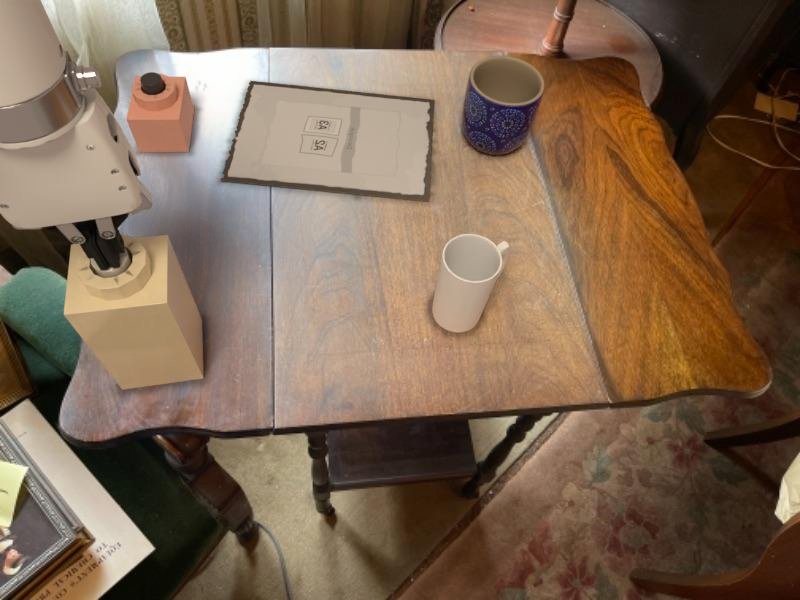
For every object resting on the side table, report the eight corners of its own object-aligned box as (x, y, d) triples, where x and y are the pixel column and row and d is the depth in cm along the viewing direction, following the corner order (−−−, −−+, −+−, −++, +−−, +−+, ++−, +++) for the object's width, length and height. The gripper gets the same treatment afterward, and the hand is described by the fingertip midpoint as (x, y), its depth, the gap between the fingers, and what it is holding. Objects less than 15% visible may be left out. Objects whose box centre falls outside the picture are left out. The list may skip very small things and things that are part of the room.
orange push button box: (139, 152, 88) (122, 109, 81) (147, 110, 93) (131, 65, 86) (188, 152, 89) (176, 109, 82) (194, 110, 94) (182, 65, 87)
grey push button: (97, 285, 56) (89, 273, 54) (99, 257, 57) (91, 244, 56) (133, 281, 56) (126, 269, 55) (134, 254, 58) (128, 241, 56)
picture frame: (220, 181, 86) (429, 202, 87) (219, 179, 86) (429, 200, 87) (249, 81, 98) (434, 100, 99) (249, 79, 97) (434, 98, 98)
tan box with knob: (122, 389, 69) (54, 303, 53) (125, 329, 73) (62, 231, 57) (203, 378, 70) (161, 291, 54) (202, 319, 75) (162, 221, 58)
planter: (443, 126, 96) (454, 66, 86) (500, 107, 99) (516, 47, 90) (481, 172, 91) (497, 114, 82) (539, 150, 95) (561, 92, 85)
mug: (450, 344, 75) (467, 292, 65) (419, 305, 78) (430, 249, 68) (511, 307, 79) (536, 252, 69) (479, 271, 82) (498, 213, 71)
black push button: (142, 95, 84) (138, 85, 82) (145, 82, 85) (141, 71, 83) (163, 96, 84) (160, 85, 82) (165, 82, 85) (162, 72, 84)
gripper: (133, 44, 43) (190, 211, 59) (-105, 69, 40) (22, 238, 56) (139, 116, 39) (199, 274, 55) (-122, 149, 36) (20, 307, 52)
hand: (110, 256), depth 55 cm, fingers closed
